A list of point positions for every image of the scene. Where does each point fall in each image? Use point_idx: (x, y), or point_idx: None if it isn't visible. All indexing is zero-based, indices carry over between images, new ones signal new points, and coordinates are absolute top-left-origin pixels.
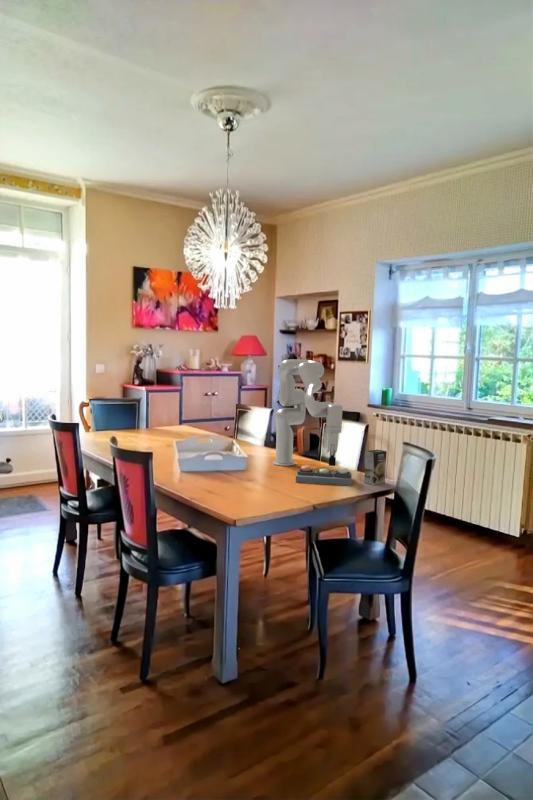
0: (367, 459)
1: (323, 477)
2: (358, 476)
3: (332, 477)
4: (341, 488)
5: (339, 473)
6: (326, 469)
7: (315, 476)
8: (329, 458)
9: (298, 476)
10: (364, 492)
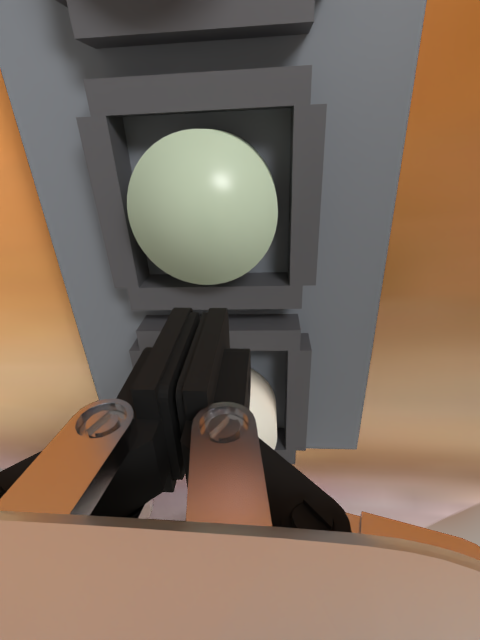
0: None
1: (63, 204)
2: (439, 455)
3: (113, 301)
4: (19, 349)
5: None
6: (229, 244)
7: (60, 86)
8: (140, 385)
9: None
10: (10, 465)
